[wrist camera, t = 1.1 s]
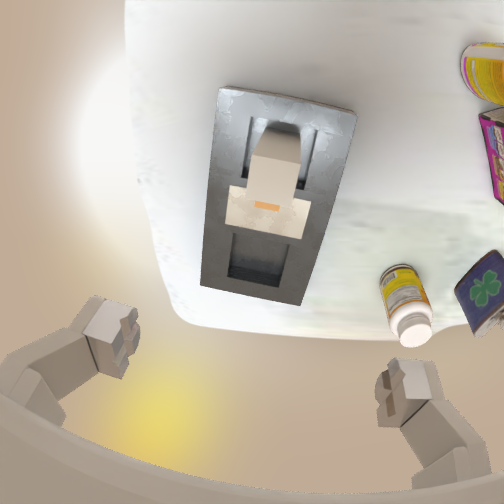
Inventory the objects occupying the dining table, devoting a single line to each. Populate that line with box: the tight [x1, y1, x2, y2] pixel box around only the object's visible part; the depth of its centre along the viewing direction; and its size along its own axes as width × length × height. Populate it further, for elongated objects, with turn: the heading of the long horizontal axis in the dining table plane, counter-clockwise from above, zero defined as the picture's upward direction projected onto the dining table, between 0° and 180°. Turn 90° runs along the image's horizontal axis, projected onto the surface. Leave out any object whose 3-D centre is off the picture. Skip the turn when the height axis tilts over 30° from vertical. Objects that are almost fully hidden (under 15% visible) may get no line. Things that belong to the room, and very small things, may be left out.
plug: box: [245, 128, 301, 212], centre depth 27 cm, size 4×4×10 cm
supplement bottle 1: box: [380, 265, 433, 347], centre depth 35 cm, size 6×6×10 cm
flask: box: [454, 250, 504, 338], centre depth 32 cm, size 9×3×11 cm, turn 149°
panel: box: [200, 86, 358, 306], centre depth 34 cm, size 24×13×3 cm, turn 171°
